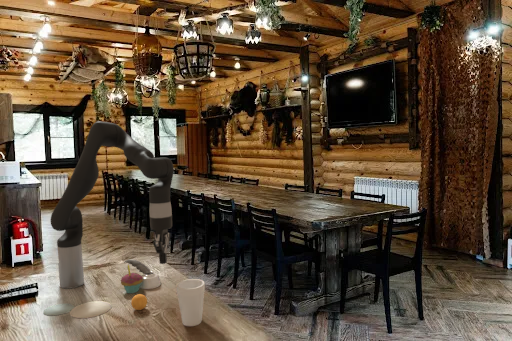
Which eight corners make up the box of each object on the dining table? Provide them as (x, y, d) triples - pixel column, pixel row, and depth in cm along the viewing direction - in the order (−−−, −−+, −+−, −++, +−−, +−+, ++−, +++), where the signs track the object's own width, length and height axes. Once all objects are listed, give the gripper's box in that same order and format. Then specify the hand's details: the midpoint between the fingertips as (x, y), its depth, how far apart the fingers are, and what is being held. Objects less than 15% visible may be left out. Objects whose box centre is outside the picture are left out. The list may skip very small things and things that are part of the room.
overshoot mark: (38, 311, 151) (38, 311, 151) (64, 301, 159) (64, 301, 159) (52, 318, 145) (52, 317, 145) (79, 307, 153) (79, 307, 153)
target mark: (61, 312, 149) (61, 311, 149) (96, 298, 161) (96, 298, 161) (84, 321, 141) (84, 321, 141) (119, 306, 153) (119, 306, 153)
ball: (128, 310, 149) (127, 295, 149) (140, 305, 154) (140, 290, 153) (138, 314, 146) (137, 298, 145) (150, 308, 150) (150, 293, 150)
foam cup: (182, 331, 132) (180, 291, 131) (174, 319, 141) (172, 282, 139) (210, 323, 137) (208, 285, 136) (200, 313, 145) (199, 277, 144)
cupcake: (136, 295, 163) (135, 265, 162) (117, 294, 164) (115, 264, 163) (146, 287, 171) (145, 258, 170) (127, 286, 173) (126, 258, 172)
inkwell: (152, 290, 168) (150, 266, 167) (116, 285, 175) (115, 262, 174) (165, 282, 176) (164, 259, 175) (131, 277, 183) (129, 255, 182)
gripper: (166, 218, 139) (168, 269, 141) (176, 211, 152) (178, 257, 154) (144, 219, 139) (146, 269, 141) (155, 211, 153) (158, 257, 154)
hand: (163, 263), depth 147 cm, fingers closed
